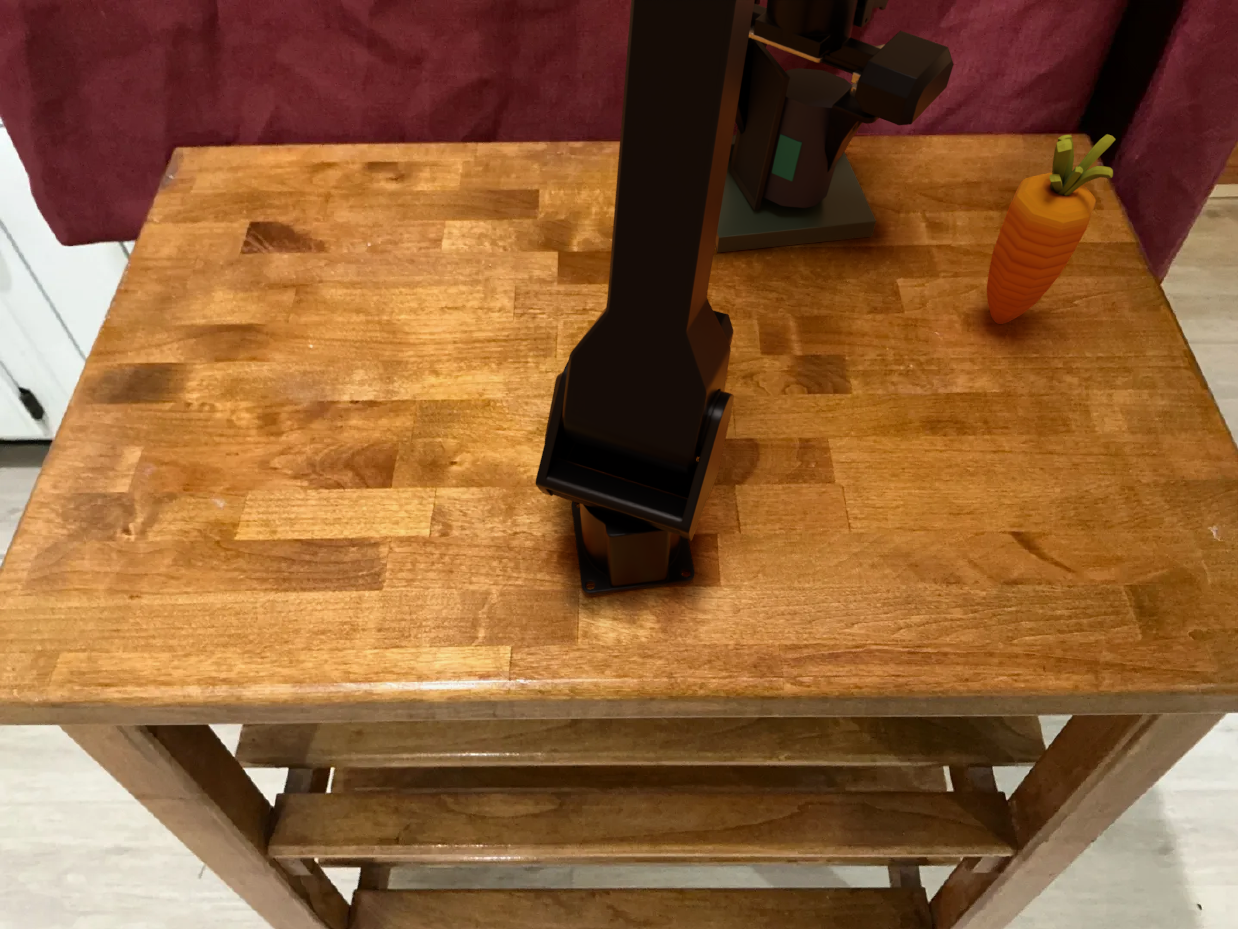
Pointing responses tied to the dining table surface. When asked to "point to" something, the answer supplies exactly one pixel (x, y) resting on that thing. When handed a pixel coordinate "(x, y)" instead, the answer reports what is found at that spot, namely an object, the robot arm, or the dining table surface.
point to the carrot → (1042, 230)
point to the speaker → (785, 133)
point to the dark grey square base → (794, 215)
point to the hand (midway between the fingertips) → (787, 151)
